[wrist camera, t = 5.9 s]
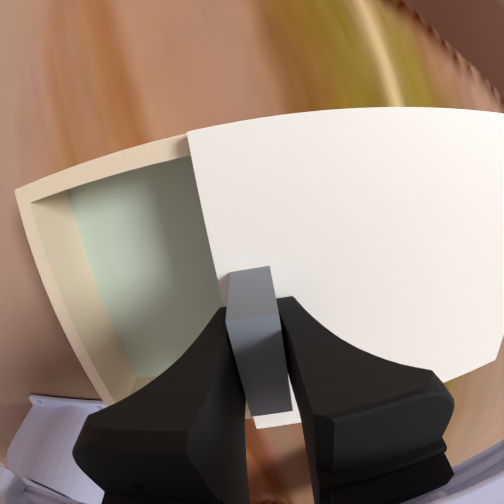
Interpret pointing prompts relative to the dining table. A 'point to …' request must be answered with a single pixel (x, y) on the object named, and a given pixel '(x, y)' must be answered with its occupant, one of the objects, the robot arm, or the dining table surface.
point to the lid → (357, 237)
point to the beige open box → (125, 261)
